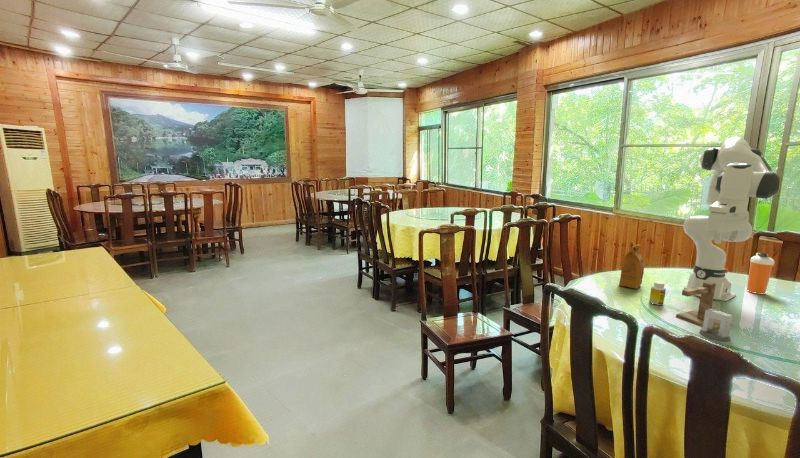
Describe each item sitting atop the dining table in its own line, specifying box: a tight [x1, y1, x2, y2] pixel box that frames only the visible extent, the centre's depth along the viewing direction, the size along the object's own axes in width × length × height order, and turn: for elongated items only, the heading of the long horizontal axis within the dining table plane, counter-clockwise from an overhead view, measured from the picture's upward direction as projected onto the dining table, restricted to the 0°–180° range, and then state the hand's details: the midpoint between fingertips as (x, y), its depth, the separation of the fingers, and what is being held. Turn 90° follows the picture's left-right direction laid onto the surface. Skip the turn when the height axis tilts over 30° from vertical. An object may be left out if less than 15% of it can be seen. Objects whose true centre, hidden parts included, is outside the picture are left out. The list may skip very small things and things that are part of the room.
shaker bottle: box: [746, 252, 775, 294], centre depth 197 cm, size 9×9×20 cm
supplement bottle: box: [648, 280, 667, 306], centre depth 177 cm, size 6×6×10 cm
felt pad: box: [698, 328, 731, 342], centre depth 146 cm, size 9×9×1 cm
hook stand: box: [675, 282, 721, 331], centre depth 156 cm, size 22×14×16 cm, turn 114°
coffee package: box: [618, 243, 645, 289], centre depth 201 cm, size 10×12×22 cm
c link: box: [701, 307, 733, 339], centre depth 145 cm, size 4×7×9 cm, turn 24°
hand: (725, 242), depth 149 cm, fingers open, 8 cm apart
